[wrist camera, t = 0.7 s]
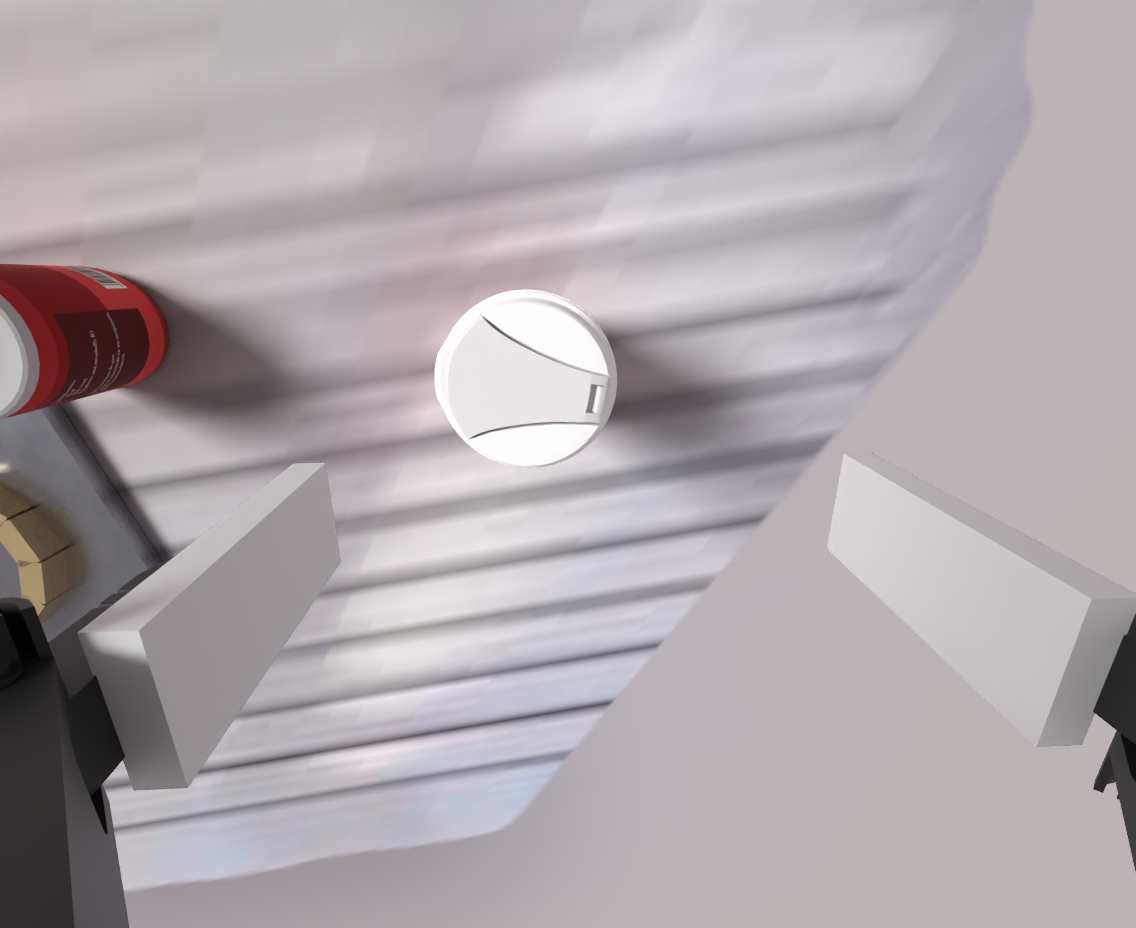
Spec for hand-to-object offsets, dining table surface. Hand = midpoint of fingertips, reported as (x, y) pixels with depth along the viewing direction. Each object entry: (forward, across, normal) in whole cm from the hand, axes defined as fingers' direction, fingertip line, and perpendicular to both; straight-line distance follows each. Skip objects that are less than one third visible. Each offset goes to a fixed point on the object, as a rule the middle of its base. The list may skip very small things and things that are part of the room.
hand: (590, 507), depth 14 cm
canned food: (+26, -30, +2) cm, 39 cm away
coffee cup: (+26, -2, +1) cm, 26 cm away
